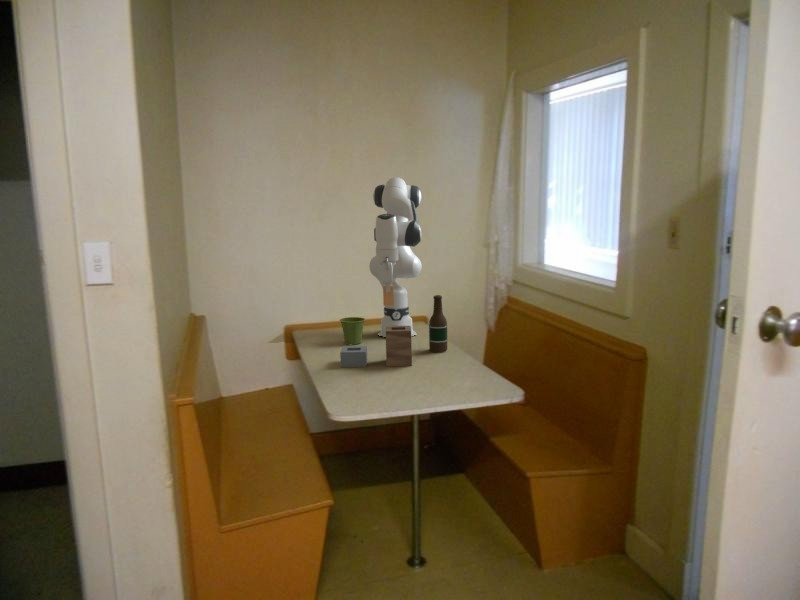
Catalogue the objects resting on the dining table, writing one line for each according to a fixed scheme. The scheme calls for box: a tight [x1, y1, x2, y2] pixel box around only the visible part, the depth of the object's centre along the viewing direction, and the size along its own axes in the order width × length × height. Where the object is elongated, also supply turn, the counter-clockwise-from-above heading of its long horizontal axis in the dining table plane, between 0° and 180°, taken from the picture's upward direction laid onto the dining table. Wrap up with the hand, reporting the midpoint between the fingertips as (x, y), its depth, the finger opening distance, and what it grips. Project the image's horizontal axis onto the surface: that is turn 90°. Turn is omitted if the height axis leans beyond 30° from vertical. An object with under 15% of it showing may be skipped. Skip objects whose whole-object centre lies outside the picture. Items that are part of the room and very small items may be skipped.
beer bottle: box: [428, 294, 448, 353], centre depth 256 cm, size 8×8×24 cm
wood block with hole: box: [385, 326, 413, 367], centre depth 239 cm, size 10×10×14 cm
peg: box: [382, 285, 394, 307], centre depth 236 cm, size 3×4×8 cm
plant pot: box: [339, 316, 366, 345], centre depth 274 cm, size 12×12×11 cm
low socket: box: [339, 345, 369, 368], centre depth 240 cm, size 10×10×6 cm
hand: (388, 291), depth 236 cm, fingers closed on peg, 3 cm apart
